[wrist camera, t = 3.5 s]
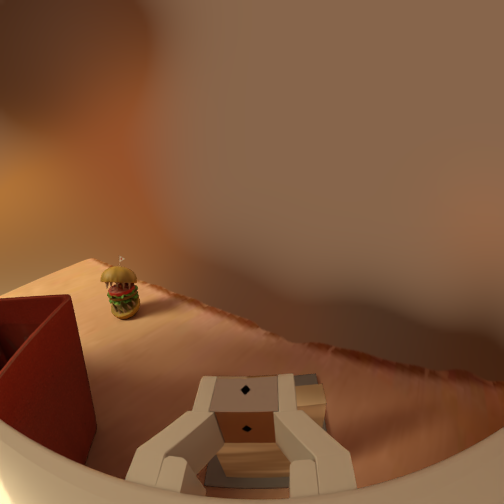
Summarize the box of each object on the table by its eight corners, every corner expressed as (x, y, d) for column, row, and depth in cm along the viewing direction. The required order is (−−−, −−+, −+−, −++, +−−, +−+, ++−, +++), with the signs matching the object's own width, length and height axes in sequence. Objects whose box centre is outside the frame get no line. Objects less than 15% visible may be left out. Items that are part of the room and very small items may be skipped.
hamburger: (105, 320, 49) (89, 266, 45) (123, 303, 55) (109, 253, 52) (134, 323, 47) (118, 265, 44) (151, 305, 54) (138, 252, 50)
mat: (334, 482, 17) (334, 481, 17) (205, 485, 18) (204, 484, 18) (315, 375, 32) (315, 373, 32) (224, 380, 33) (223, 378, 33)
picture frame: (312, 474, 18) (326, 403, 14) (226, 476, 19) (197, 407, 15) (310, 457, 20) (321, 380, 16) (228, 460, 20) (203, 384, 17)
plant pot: (28, 392, 26) (-21, 297, 21) (126, 407, 27) (73, 291, 22) (-16, 477, 8) (-100, 373, 3) (97, 534, 9) (-38, 433, 4)
